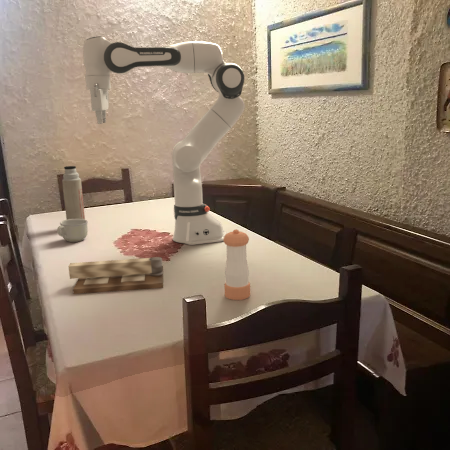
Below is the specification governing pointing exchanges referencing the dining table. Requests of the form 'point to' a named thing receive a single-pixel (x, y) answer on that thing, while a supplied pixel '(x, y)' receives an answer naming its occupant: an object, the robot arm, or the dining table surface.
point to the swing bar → (115, 267)
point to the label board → (118, 283)
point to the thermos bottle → (73, 194)
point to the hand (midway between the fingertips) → (101, 123)
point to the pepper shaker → (236, 266)
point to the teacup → (73, 229)
